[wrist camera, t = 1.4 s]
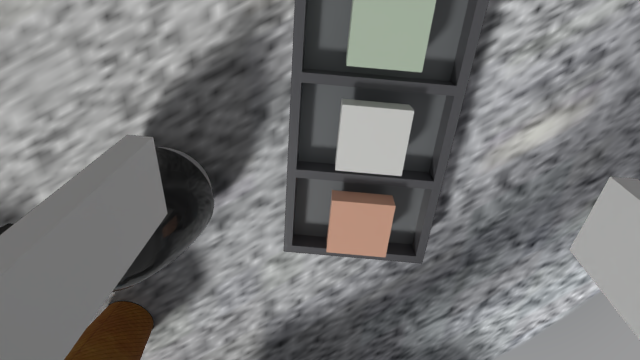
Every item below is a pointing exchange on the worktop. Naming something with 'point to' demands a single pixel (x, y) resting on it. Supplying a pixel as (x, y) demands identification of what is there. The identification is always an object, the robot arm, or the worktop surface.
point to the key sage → (389, 34)
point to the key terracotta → (360, 223)
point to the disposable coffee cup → (115, 334)
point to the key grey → (373, 137)
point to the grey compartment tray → (380, 86)
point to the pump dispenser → (174, 215)
